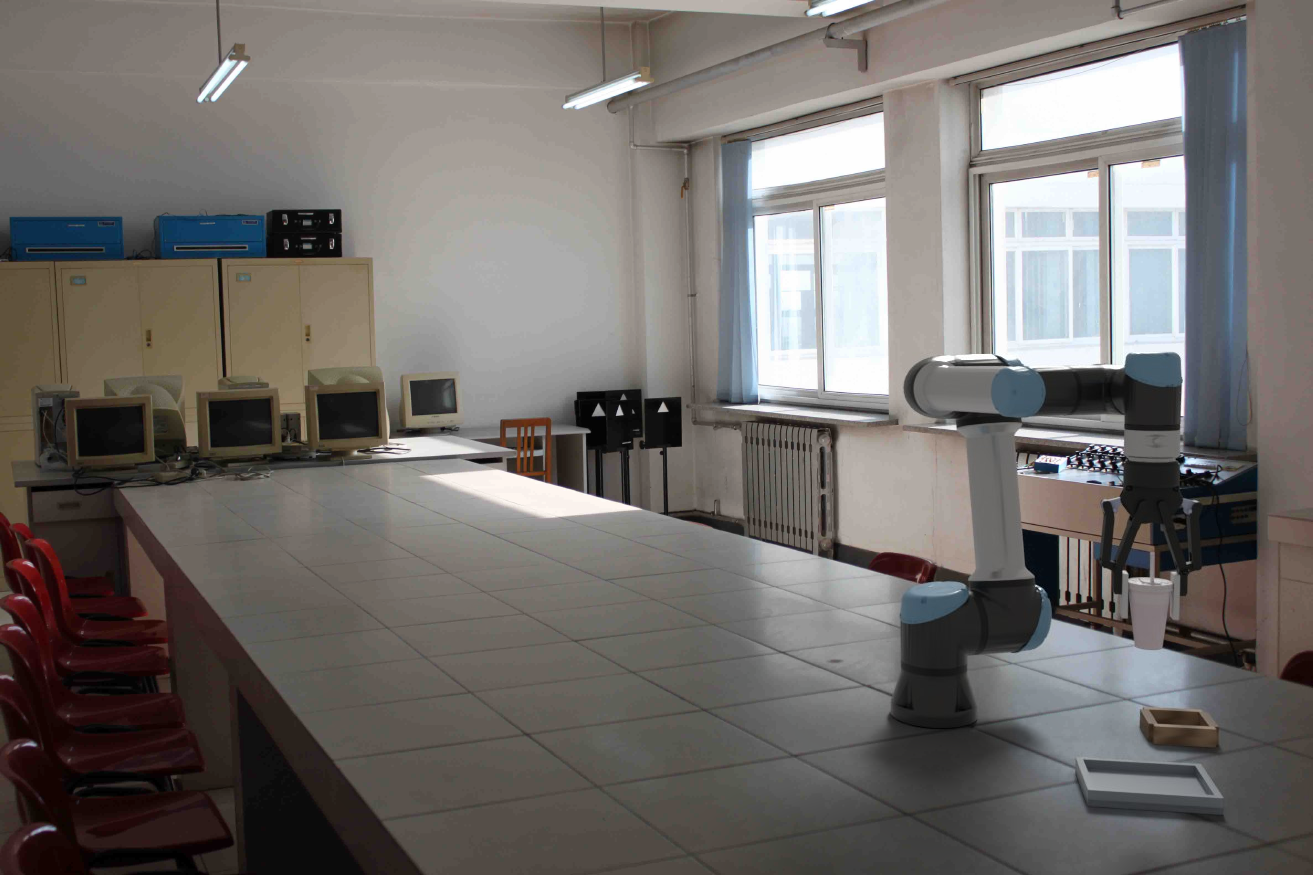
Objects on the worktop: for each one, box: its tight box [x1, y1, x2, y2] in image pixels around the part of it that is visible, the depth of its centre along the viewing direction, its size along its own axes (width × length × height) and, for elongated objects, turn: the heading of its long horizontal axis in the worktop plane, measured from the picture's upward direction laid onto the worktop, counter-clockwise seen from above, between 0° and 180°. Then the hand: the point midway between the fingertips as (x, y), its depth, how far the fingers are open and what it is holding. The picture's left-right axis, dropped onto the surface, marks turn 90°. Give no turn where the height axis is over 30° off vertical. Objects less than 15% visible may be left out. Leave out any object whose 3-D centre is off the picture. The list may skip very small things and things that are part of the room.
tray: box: [1074, 756, 1225, 816], centre depth 175 cm, size 18×14×2 cm
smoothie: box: [1128, 551, 1173, 651], centre depth 173 cm, size 6×6×14 cm
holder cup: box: [1139, 706, 1220, 748], centre depth 201 cm, size 11×11×3 cm
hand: (1148, 616), depth 174 cm, fingers closed on smoothie, 6 cm apart
